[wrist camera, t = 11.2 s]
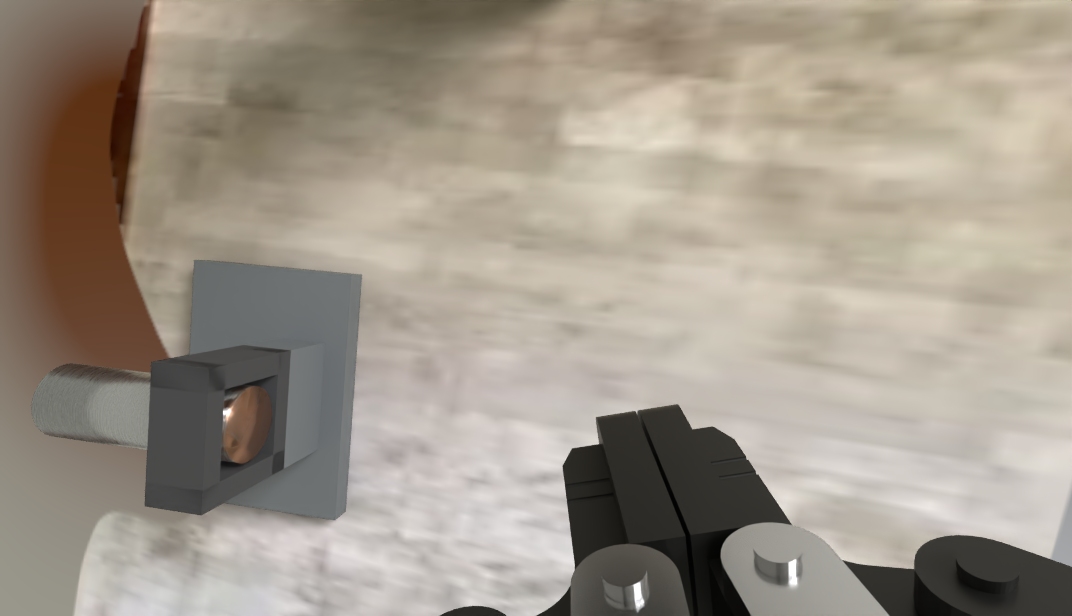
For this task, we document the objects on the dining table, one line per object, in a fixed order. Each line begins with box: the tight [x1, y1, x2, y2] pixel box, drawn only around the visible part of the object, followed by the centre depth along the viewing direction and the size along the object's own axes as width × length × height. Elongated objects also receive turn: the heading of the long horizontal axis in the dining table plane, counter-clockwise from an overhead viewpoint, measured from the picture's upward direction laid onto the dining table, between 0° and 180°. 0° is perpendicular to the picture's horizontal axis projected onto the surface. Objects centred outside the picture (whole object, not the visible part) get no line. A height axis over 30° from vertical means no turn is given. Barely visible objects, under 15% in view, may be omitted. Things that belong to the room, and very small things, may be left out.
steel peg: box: [31, 364, 272, 463], centre depth 33 cm, size 4×11×4 cm, turn 85°
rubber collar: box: [145, 345, 291, 515], centre depth 32 cm, size 7×3×7 cm, turn 175°
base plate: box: [189, 260, 362, 520], centre depth 39 cm, size 16×11×6 cm
